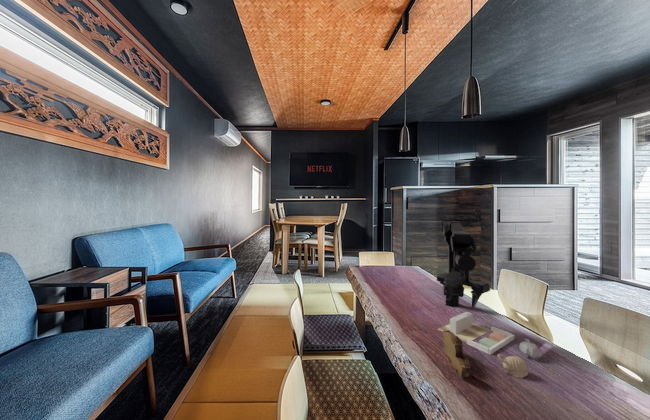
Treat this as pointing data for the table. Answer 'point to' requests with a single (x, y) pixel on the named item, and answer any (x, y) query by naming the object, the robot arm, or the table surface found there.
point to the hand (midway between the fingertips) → (461, 303)
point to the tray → (496, 346)
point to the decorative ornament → (514, 366)
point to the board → (468, 332)
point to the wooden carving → (456, 353)
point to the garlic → (529, 349)
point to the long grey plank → (461, 322)
